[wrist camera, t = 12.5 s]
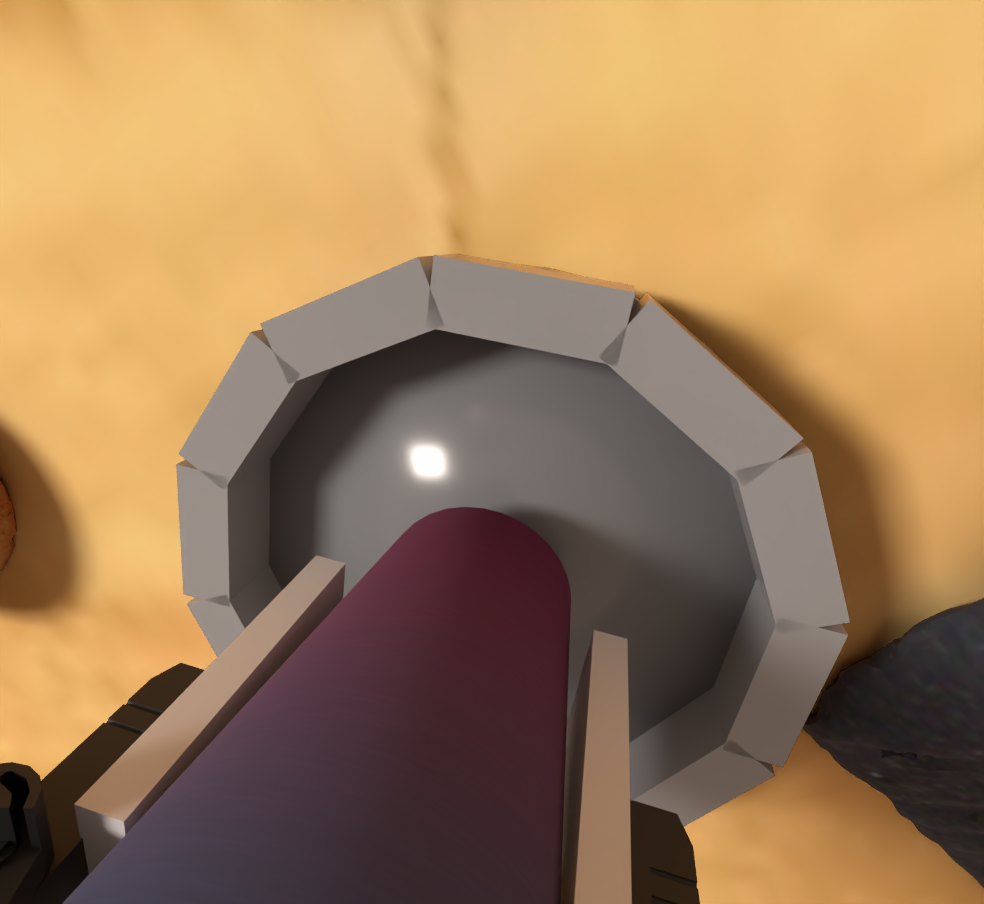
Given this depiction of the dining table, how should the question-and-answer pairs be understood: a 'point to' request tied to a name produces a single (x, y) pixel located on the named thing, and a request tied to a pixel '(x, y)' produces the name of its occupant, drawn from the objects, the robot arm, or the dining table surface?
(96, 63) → the dining table surface
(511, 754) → the cup
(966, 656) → the dark slate chunk
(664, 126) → the dining table surface
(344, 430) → the tray
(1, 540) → the burger
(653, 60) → the dining table surface
